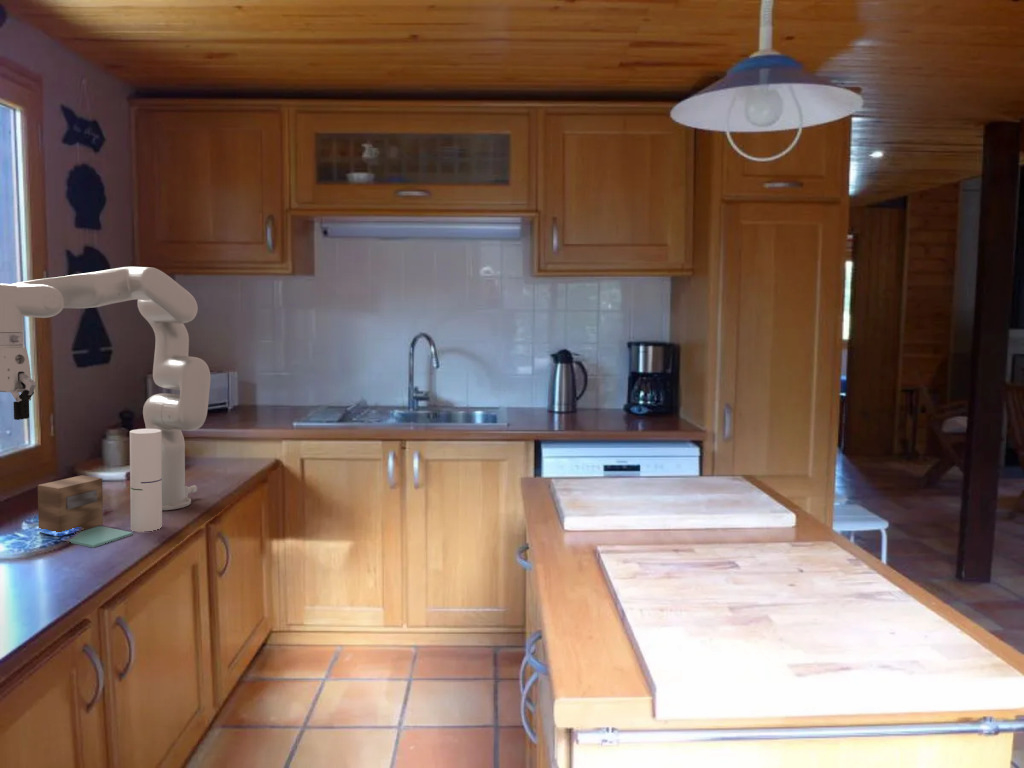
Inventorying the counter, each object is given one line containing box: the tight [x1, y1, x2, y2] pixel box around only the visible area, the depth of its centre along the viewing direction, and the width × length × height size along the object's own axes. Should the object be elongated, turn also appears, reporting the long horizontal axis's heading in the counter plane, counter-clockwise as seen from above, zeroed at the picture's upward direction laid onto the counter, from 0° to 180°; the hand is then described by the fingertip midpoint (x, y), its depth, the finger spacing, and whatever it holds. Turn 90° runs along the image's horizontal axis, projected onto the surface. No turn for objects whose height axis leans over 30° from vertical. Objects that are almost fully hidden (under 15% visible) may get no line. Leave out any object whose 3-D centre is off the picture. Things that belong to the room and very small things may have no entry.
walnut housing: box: [37, 474, 104, 532], centre depth 184 cm, size 12×8×12 cm, turn 159°
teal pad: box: [69, 525, 134, 549], centre depth 179 cm, size 11×11×1 cm
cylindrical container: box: [129, 428, 163, 533], centre depth 186 cm, size 7×7×25 cm
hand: (5, 417), depth 164 cm, fingers open, 9 cm apart
